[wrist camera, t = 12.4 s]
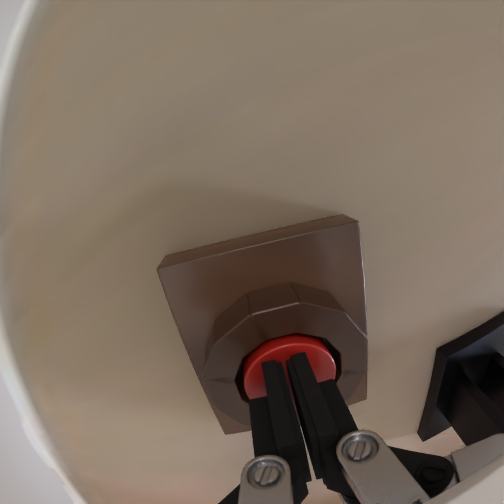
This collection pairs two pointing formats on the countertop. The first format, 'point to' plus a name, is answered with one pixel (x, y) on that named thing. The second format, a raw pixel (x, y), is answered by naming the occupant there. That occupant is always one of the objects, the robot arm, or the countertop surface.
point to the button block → (270, 305)
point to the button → (281, 352)
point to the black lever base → (468, 386)
